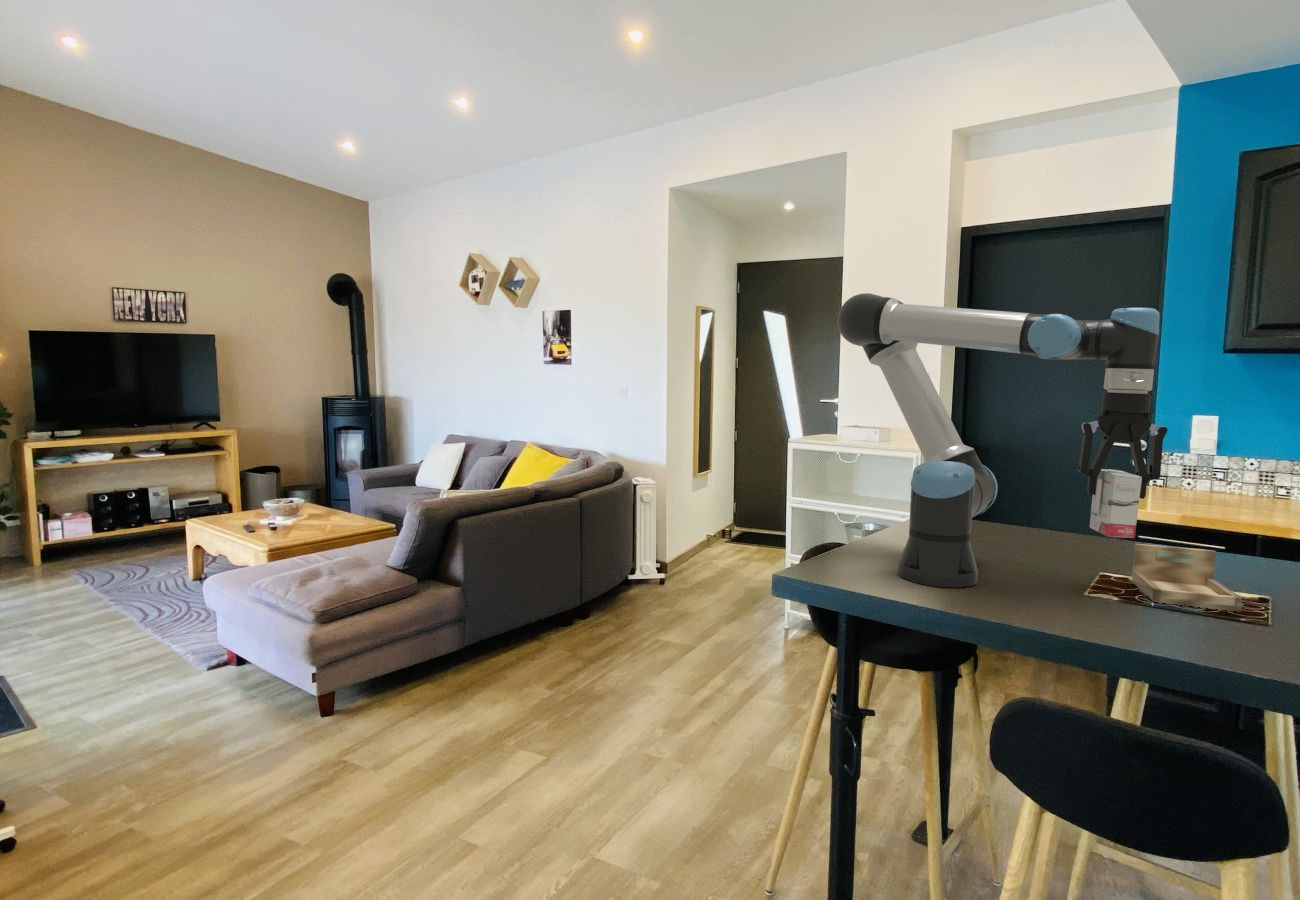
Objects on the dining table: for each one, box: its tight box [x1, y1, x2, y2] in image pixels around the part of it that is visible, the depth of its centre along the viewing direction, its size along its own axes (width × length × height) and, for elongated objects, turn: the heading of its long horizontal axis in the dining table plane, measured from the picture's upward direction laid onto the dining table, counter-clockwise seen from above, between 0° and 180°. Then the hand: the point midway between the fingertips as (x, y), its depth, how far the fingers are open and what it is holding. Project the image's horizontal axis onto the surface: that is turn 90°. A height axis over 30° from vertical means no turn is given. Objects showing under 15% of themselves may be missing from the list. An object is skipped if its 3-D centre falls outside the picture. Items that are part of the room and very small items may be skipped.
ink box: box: [1089, 468, 1142, 539], centre depth 130 cm, size 9×5×12 cm, turn 167°
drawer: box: [1131, 543, 1243, 613], centre depth 130 cm, size 13×14×8 cm
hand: (1113, 512), depth 130 cm, fingers closed on ink box, 5 cm apart
